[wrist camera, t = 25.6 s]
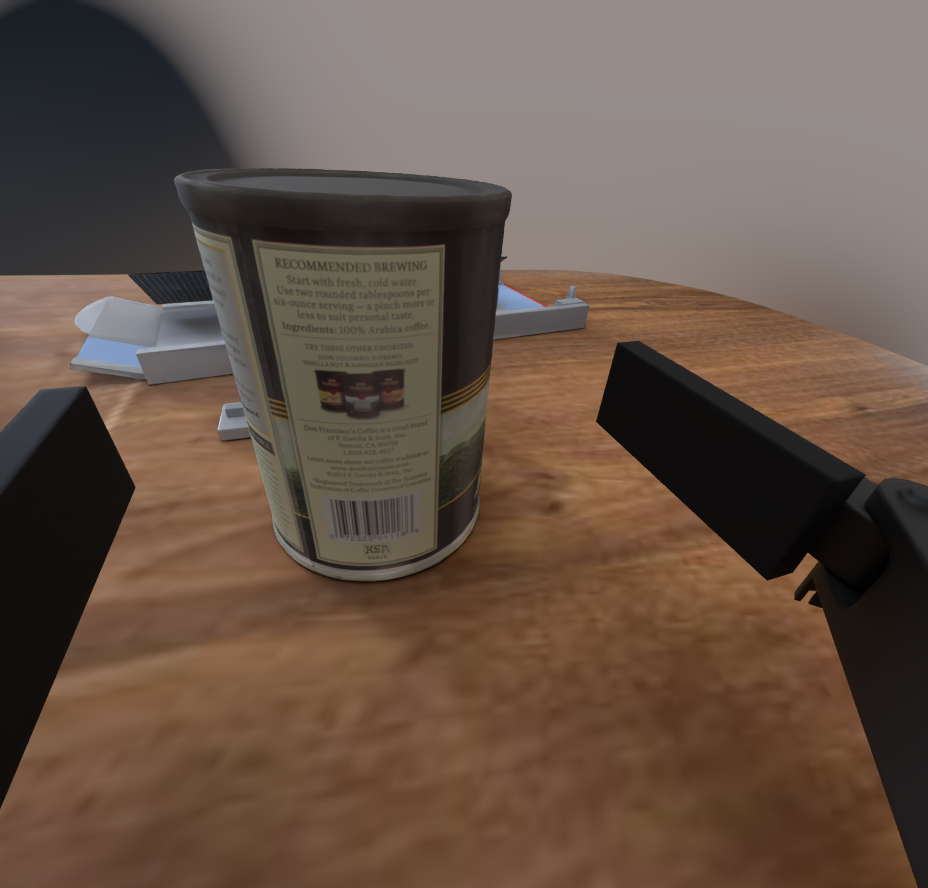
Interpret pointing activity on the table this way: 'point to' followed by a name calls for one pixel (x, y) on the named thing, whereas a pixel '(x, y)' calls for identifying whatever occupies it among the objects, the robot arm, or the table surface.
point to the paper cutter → (200, 336)
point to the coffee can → (357, 351)
